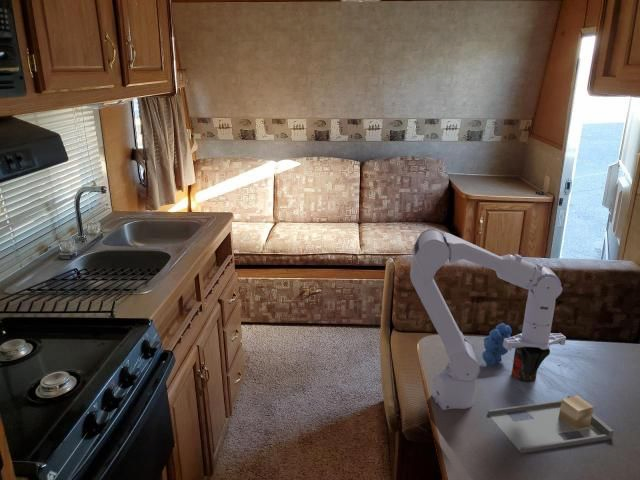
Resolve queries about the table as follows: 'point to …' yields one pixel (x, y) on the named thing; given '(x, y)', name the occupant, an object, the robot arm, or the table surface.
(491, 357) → the grapes
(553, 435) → the board
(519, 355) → the deodorant
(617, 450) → the table surface
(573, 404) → the block
